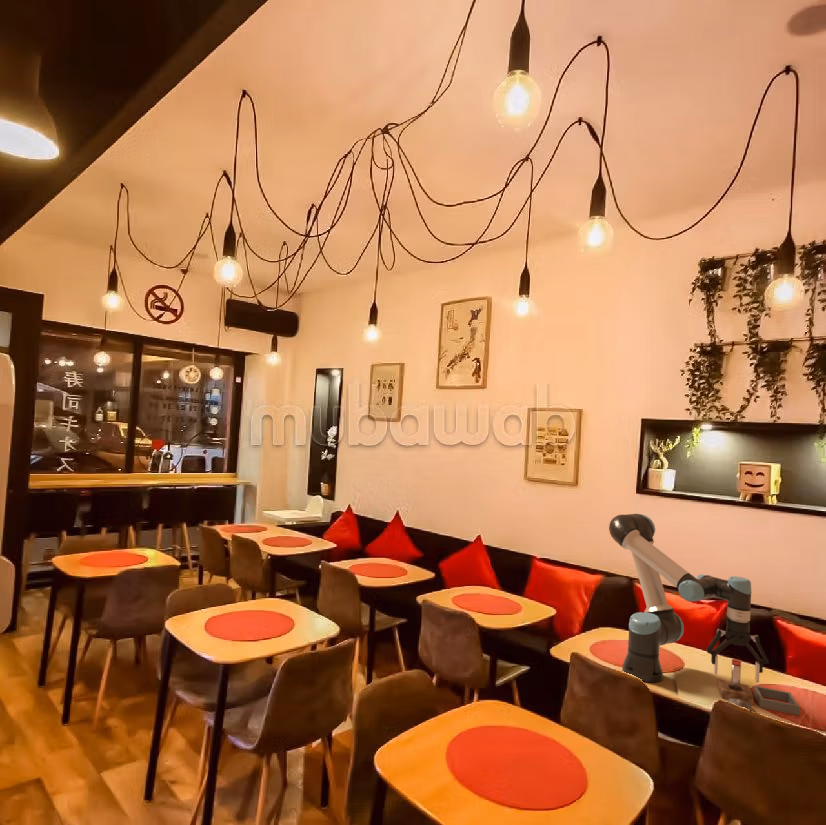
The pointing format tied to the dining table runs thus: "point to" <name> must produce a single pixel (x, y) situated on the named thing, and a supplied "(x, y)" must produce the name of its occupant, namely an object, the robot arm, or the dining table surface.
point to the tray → (788, 707)
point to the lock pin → (735, 674)
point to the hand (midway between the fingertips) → (736, 677)
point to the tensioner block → (736, 694)
